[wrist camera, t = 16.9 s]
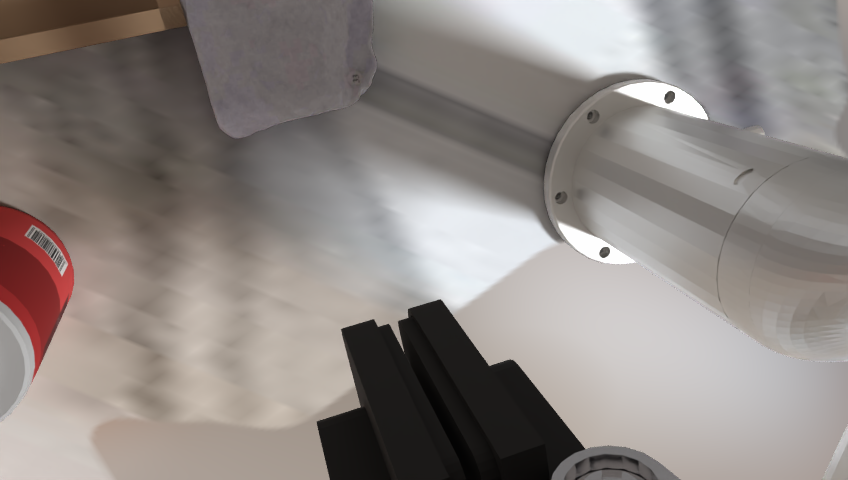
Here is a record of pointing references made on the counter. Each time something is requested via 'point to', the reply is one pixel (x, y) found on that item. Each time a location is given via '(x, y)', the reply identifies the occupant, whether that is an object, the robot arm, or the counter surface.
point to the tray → (79, 23)
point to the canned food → (28, 300)
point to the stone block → (281, 58)
